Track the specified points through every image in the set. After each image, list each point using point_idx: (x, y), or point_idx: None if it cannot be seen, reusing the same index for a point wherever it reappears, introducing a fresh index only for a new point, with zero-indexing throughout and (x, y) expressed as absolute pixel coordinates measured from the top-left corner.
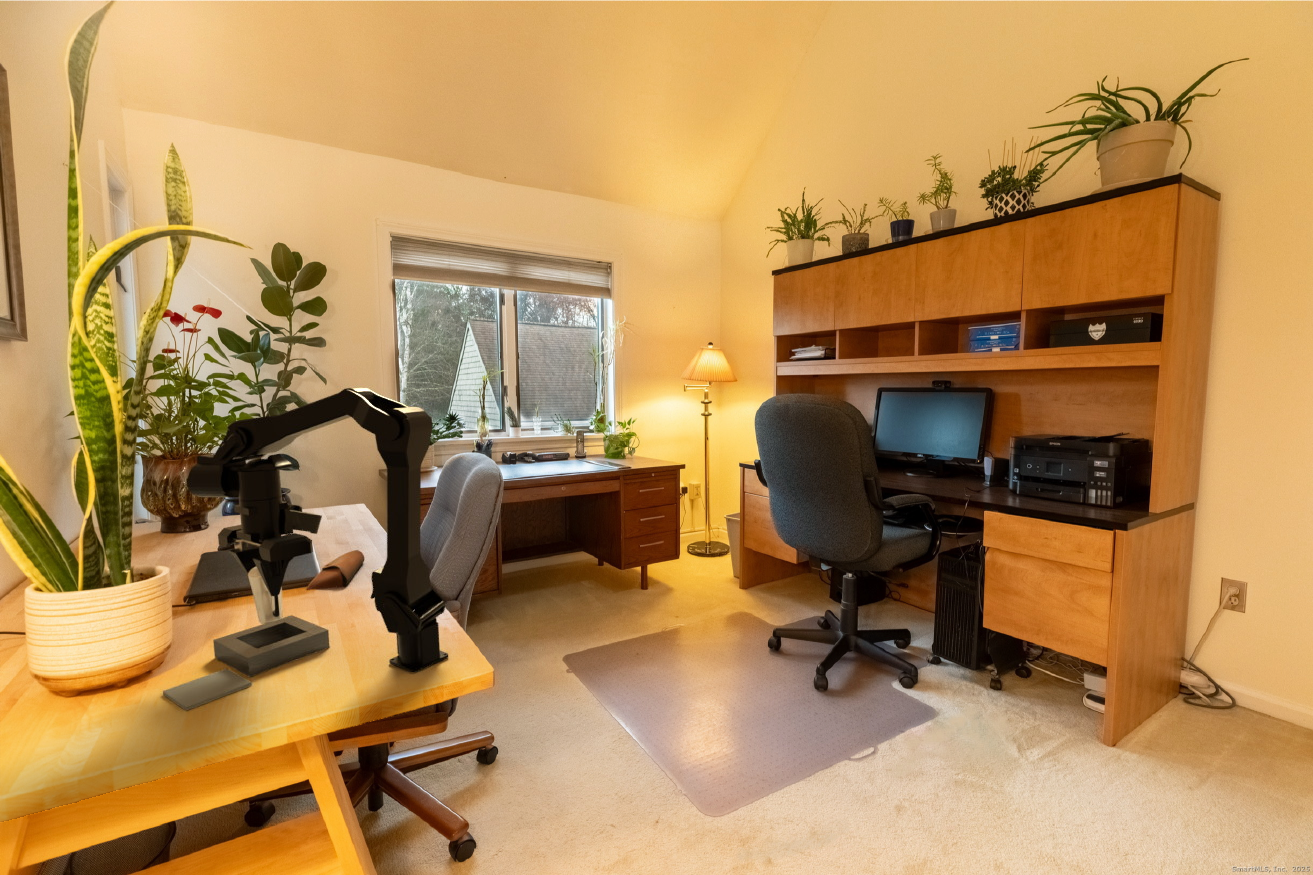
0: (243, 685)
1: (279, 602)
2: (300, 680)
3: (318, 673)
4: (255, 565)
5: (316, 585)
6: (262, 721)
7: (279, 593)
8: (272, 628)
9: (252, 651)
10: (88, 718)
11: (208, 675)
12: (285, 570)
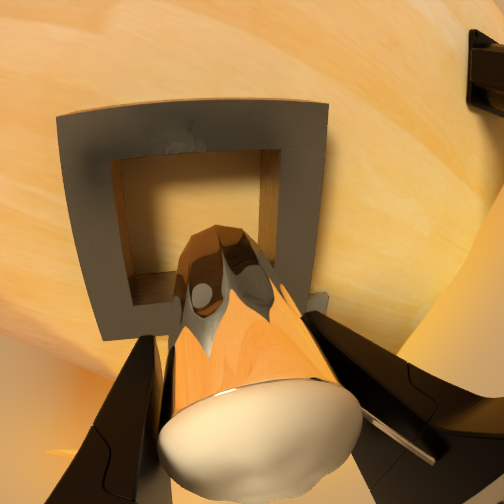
0: (326, 306)
1: (278, 278)
2: (388, 228)
3: (395, 194)
4: (162, 496)
5: None
6: (424, 302)
7: (318, 311)
8: (116, 201)
9: None
10: None
11: None
12: (433, 378)
